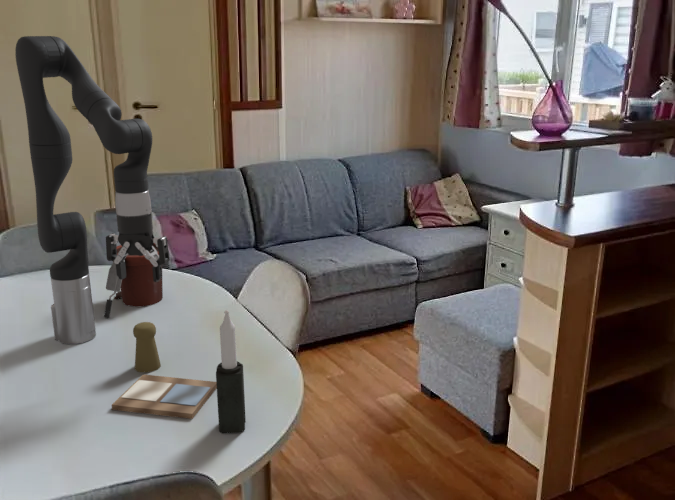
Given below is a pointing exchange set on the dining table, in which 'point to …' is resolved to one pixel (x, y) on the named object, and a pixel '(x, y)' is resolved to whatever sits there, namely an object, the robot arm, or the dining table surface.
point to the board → (165, 396)
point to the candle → (230, 382)
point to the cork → (146, 348)
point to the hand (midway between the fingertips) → (140, 279)
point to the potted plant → (134, 283)
